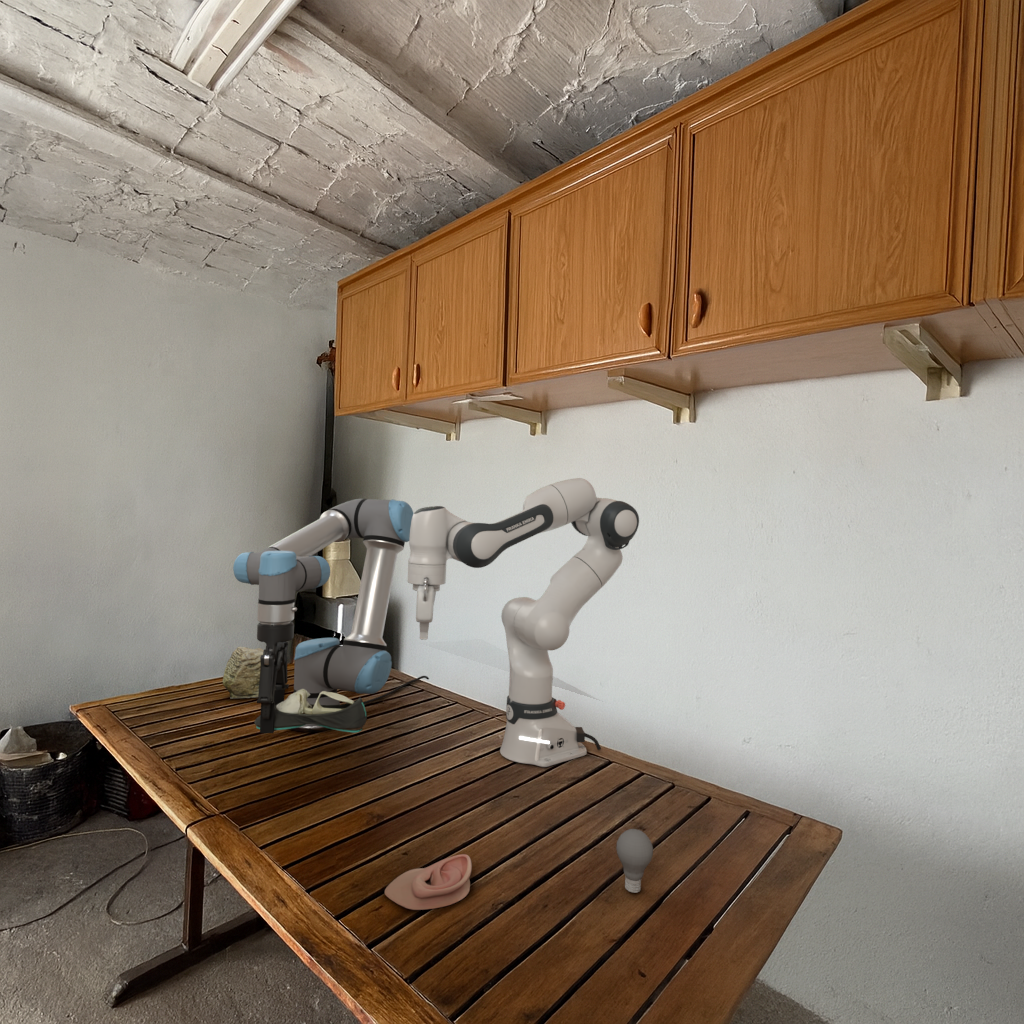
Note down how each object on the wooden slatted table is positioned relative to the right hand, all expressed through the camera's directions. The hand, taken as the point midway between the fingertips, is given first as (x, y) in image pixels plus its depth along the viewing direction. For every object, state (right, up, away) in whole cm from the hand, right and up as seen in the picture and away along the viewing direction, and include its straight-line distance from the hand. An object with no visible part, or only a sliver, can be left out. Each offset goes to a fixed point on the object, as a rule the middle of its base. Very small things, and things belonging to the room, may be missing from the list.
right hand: (424, 634), depth 148 cm
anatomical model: (+7, -33, -44) cm, 56 cm away
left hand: (-32, -18, -9) cm, 38 cm away
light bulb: (+41, -35, -42) cm, 68 cm away
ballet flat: (-24, -19, -8) cm, 31 cm away
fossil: (-60, -29, +50) cm, 83 cm away
